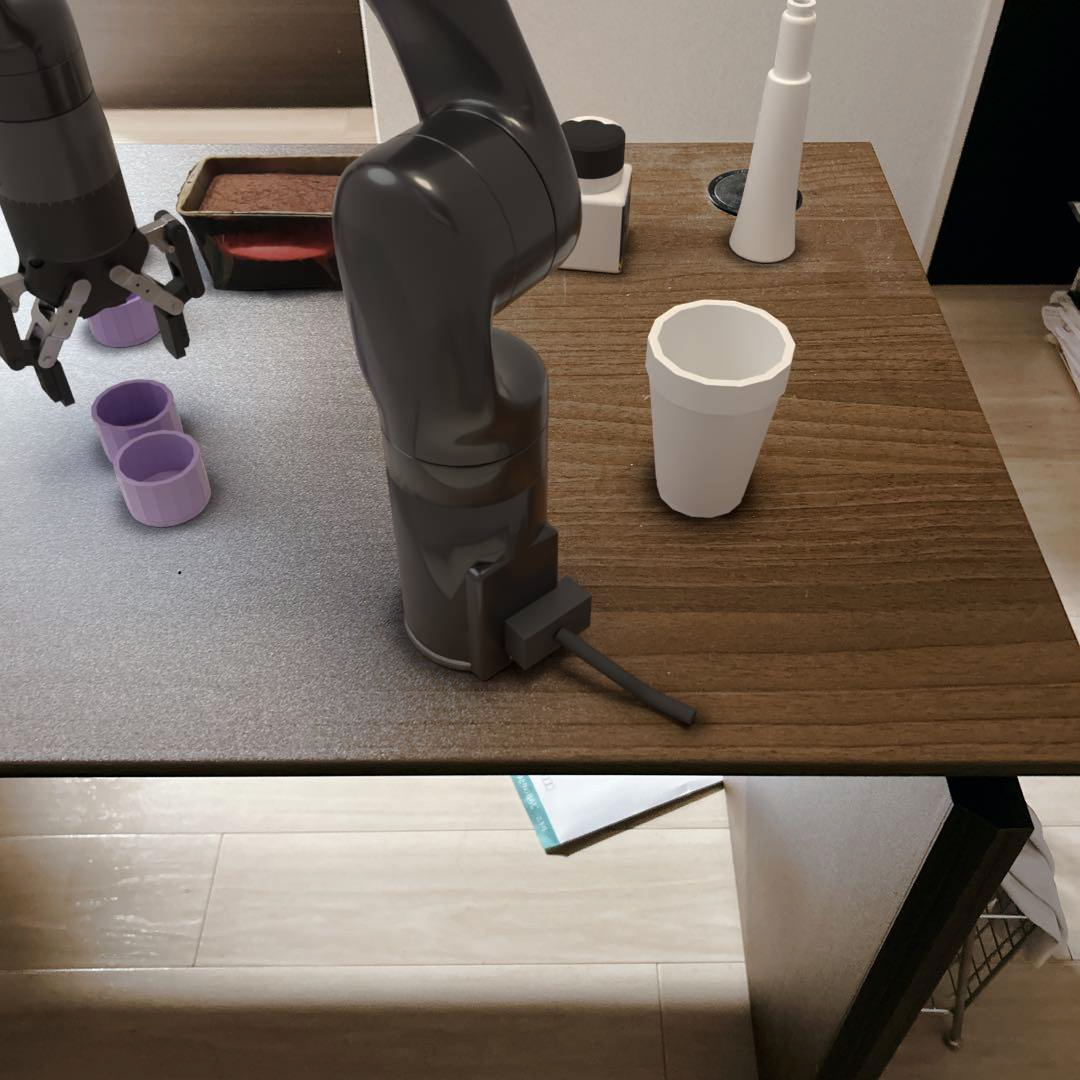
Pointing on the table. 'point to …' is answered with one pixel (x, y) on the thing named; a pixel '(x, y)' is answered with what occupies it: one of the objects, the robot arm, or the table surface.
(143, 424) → the dish
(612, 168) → the medicine bottle
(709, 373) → the foam cup
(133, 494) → the dish
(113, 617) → the table surface
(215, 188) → the baking dish
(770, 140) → the cosmetic bottle
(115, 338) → the dish
